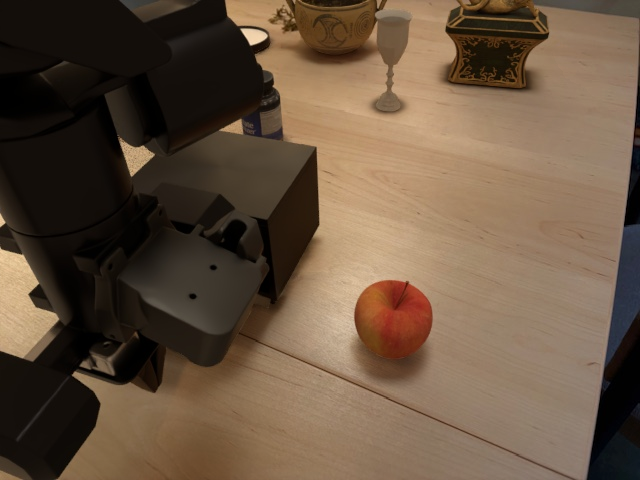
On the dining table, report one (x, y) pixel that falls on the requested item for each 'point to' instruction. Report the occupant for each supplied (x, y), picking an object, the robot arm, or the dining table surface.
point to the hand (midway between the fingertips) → (152, 386)
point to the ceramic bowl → (335, 23)
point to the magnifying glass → (256, 37)
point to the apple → (393, 318)
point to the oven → (252, 191)
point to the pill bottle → (266, 114)
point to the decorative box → (494, 41)
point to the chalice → (391, 49)
